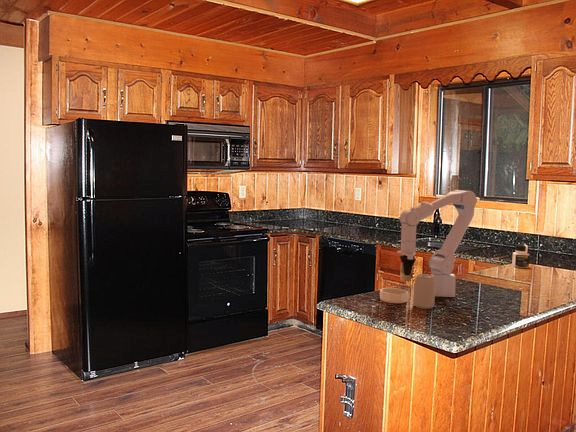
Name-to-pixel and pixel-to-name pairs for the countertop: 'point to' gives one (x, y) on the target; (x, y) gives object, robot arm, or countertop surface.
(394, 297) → the beige shallow bowl
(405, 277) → the beige rectangular block
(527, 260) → the medicine bottle
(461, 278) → the countertop surface
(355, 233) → the countertop surface
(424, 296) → the can
